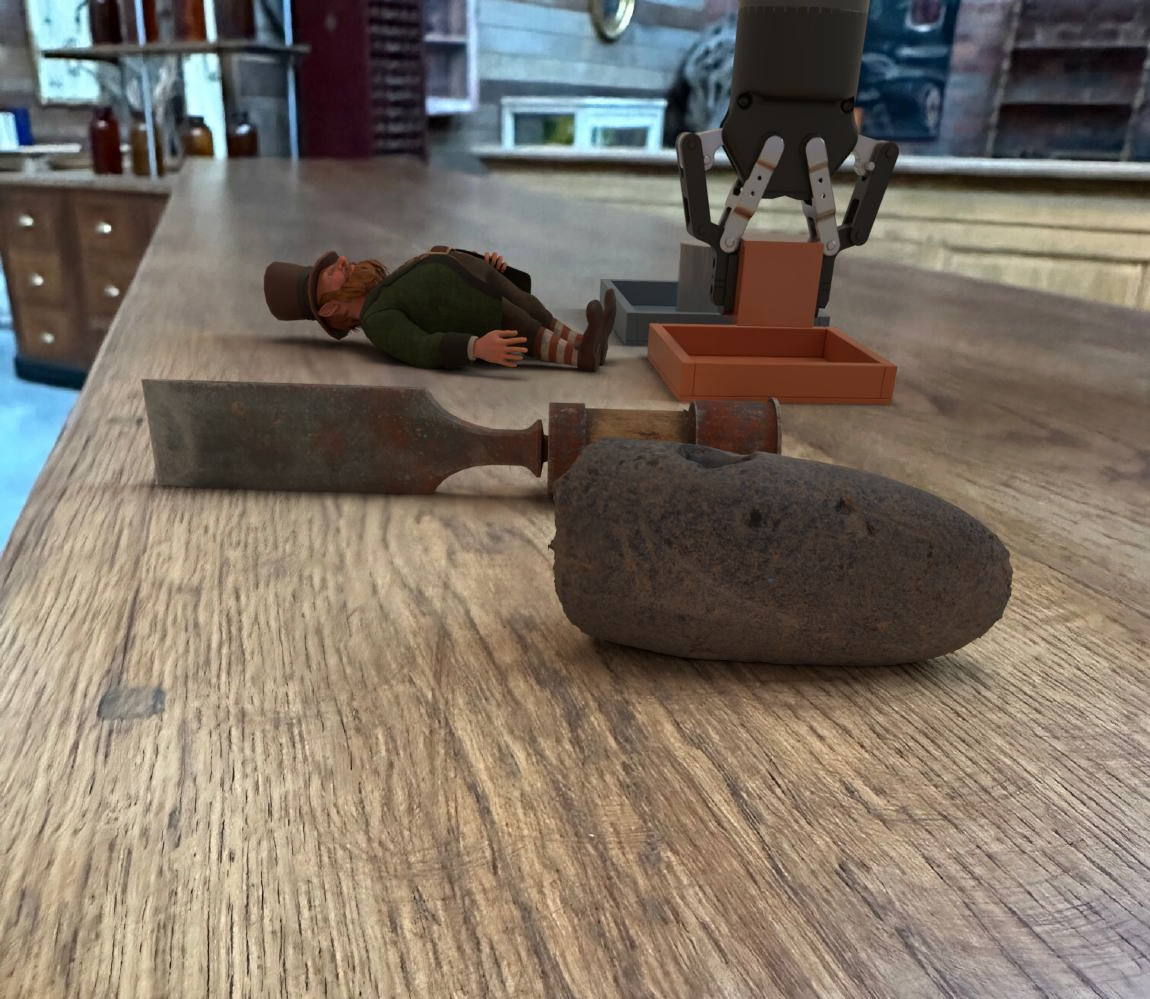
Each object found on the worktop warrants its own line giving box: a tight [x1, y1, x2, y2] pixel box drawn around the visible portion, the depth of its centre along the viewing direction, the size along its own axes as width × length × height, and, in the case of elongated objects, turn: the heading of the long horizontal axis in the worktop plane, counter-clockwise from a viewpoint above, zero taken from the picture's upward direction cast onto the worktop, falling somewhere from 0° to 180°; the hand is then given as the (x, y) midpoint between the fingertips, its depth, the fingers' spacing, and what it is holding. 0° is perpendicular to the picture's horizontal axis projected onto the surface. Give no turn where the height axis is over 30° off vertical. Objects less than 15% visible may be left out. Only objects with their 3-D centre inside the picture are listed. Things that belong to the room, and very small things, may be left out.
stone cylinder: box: [675, 238, 718, 313], centre depth 92 cm, size 5×5×6 cm
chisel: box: [140, 378, 783, 495], centre depth 51 cm, size 28×5×5 cm, turn 91°
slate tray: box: [599, 278, 831, 347], centre depth 93 cm, size 16×18×3 cm
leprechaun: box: [263, 245, 616, 373], centre depth 79 cm, size 11×10×25 cm
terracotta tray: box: [646, 323, 898, 405], centre depth 76 cm, size 14×14×3 cm
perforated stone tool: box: [547, 437, 1014, 667], centre depth 37 cm, size 15×5×7 cm, turn 81°
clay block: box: [725, 231, 824, 328], centre depth 73 cm, size 5×5×5 cm
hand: (767, 313), depth 74 cm, fingers closed on clay block, 5 cm apart
